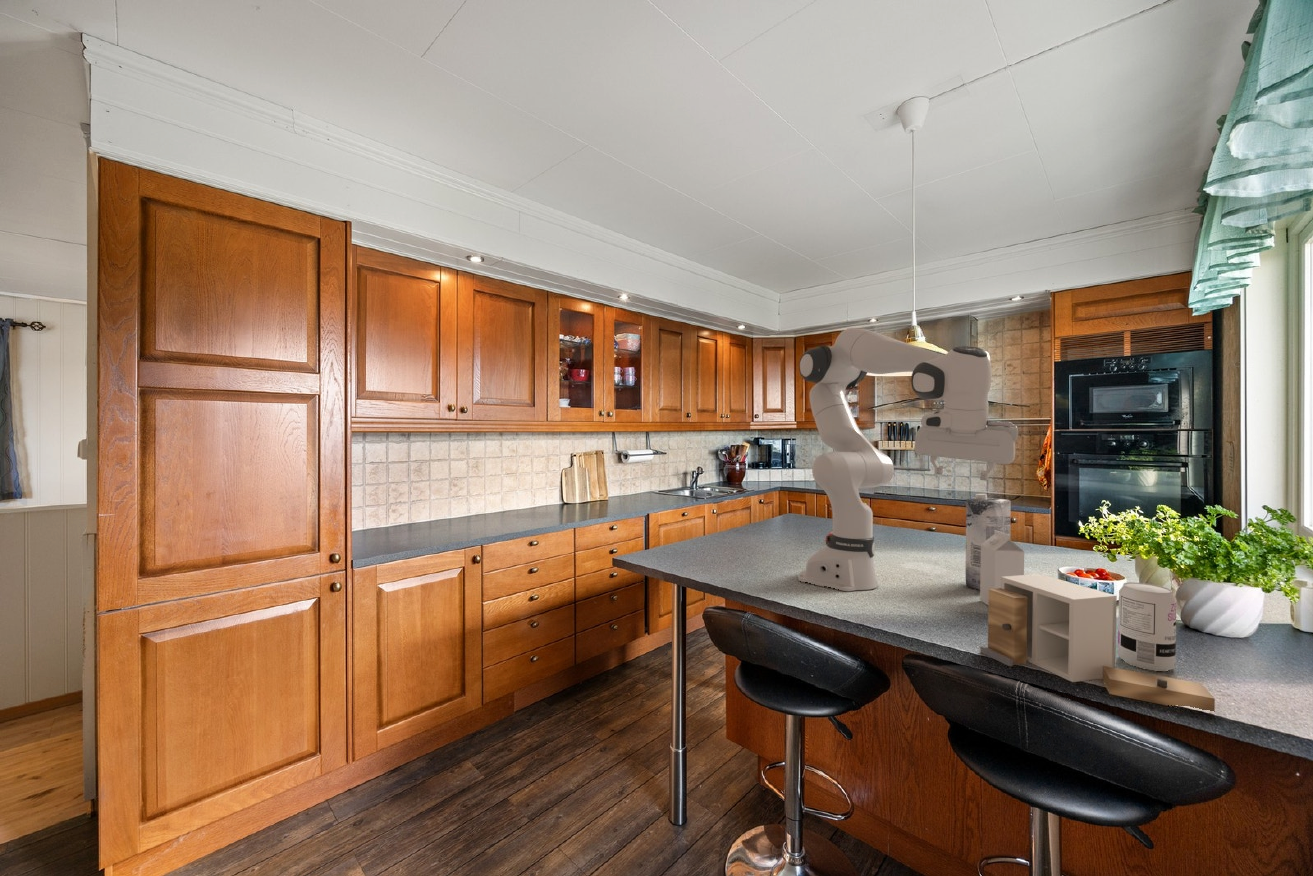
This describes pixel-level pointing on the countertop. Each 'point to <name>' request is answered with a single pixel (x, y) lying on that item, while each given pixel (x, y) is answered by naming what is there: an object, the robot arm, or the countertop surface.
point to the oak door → (1007, 624)
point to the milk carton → (998, 562)
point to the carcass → (1065, 627)
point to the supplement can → (1147, 626)
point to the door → (1157, 689)
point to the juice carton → (982, 530)
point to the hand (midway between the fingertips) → (960, 476)
